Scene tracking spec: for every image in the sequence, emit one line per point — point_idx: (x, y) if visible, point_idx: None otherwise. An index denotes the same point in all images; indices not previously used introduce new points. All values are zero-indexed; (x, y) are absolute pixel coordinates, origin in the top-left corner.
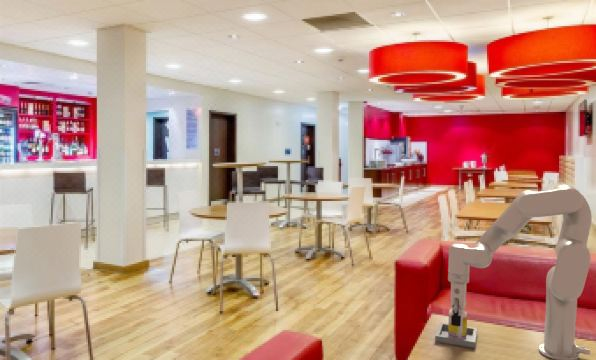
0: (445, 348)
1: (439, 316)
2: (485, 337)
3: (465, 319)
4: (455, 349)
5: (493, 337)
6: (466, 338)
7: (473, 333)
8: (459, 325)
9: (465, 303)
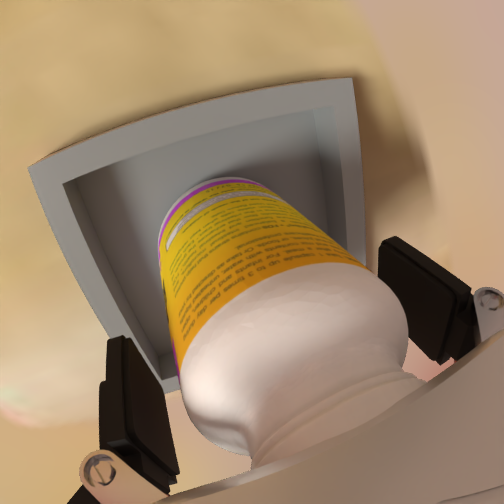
0: (389, 224)
1: (16, 418)
2: (58, 81)
3: (326, 248)
4: (381, 178)
5: (24, 40)
6: (205, 176)
7: (174, 138)
8: (398, 243)
9: (446, 458)
